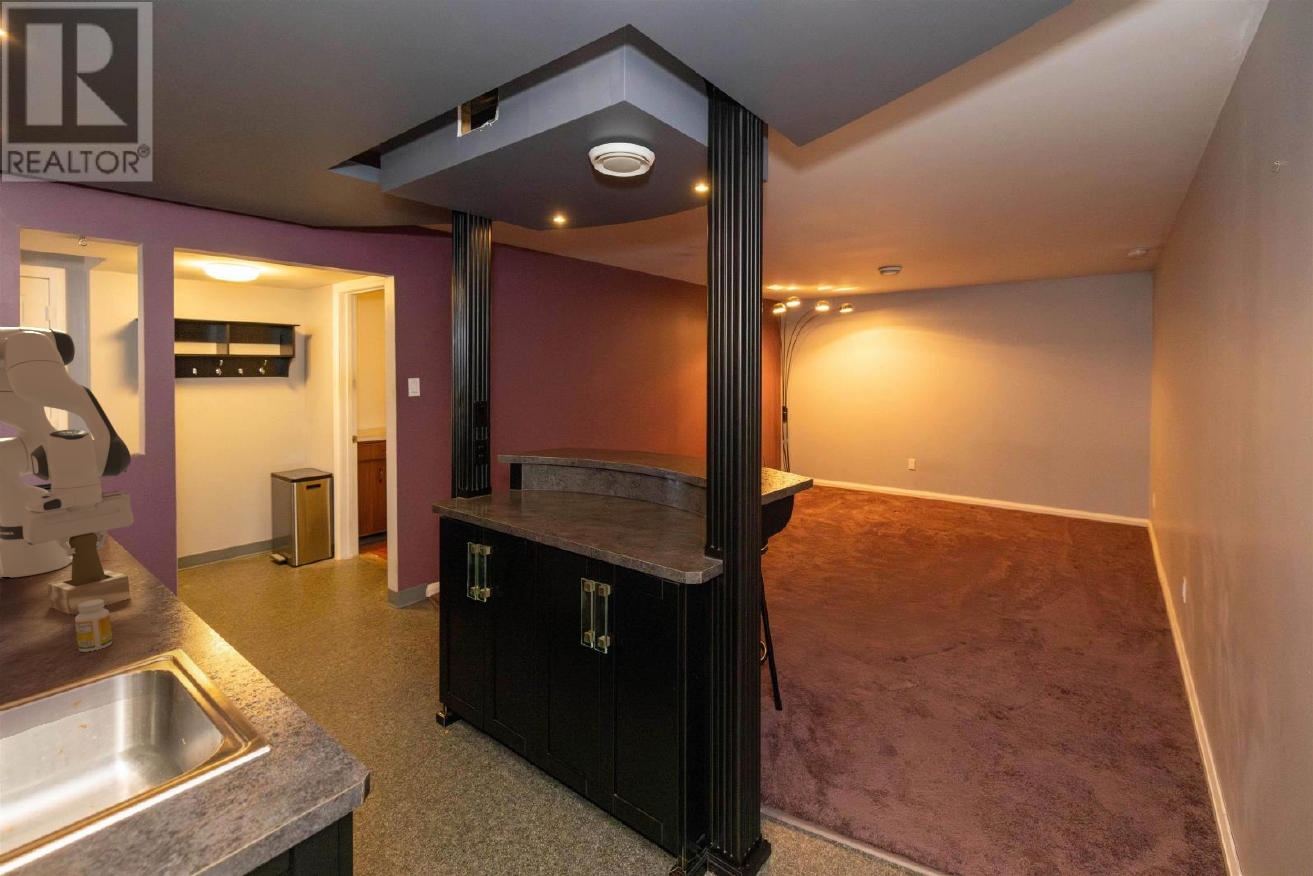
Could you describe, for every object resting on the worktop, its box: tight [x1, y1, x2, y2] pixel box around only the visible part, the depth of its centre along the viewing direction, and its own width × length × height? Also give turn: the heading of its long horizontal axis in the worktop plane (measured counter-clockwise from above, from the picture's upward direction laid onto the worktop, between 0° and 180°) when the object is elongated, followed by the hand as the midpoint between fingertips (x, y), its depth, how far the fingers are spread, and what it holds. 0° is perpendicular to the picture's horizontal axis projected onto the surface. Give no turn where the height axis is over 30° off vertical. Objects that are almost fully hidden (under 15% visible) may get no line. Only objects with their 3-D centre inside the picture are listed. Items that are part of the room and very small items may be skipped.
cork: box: [68, 532, 104, 581], centre depth 153 cm, size 6×6×11 cm
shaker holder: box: [47, 569, 131, 616], centre depth 154 cm, size 11×11×6 cm
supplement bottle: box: [74, 599, 113, 653], centre depth 129 cm, size 5×5×10 cm
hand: (84, 552), depth 153 cm, fingers closed on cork, 4 cm apart
